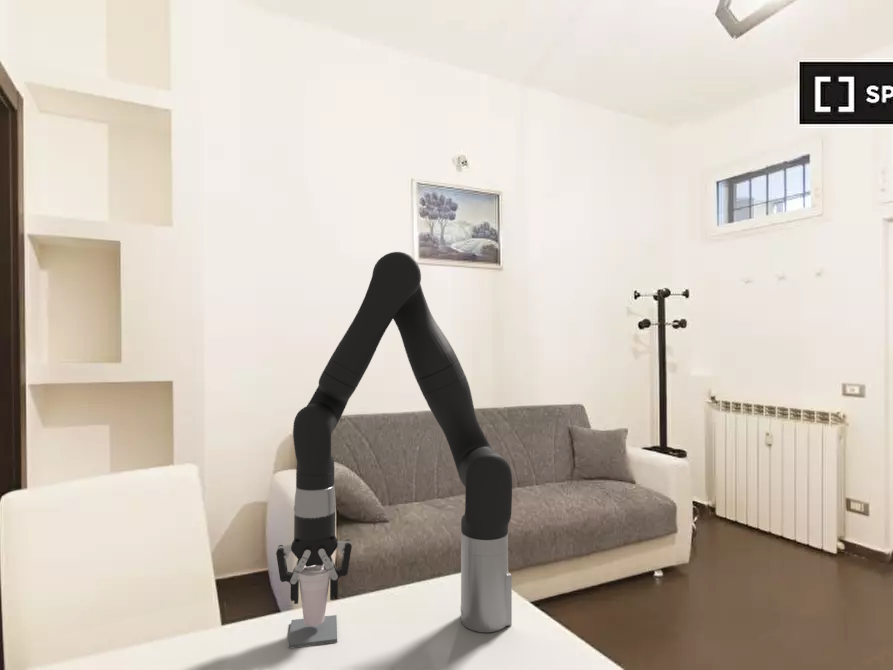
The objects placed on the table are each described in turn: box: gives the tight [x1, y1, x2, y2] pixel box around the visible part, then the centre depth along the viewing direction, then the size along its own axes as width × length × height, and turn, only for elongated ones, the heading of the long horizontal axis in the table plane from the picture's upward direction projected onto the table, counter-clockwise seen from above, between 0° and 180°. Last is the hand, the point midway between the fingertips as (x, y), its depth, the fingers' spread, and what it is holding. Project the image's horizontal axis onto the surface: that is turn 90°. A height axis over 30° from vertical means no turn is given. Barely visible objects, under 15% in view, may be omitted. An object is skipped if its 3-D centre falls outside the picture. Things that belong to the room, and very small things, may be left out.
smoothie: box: [298, 564, 331, 626], centre depth 96 cm, size 6×6×14 cm
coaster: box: [287, 614, 338, 649], centre depth 96 cm, size 8×8×1 cm
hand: (314, 599), depth 96 cm, fingers closed on smoothie, 6 cm apart
